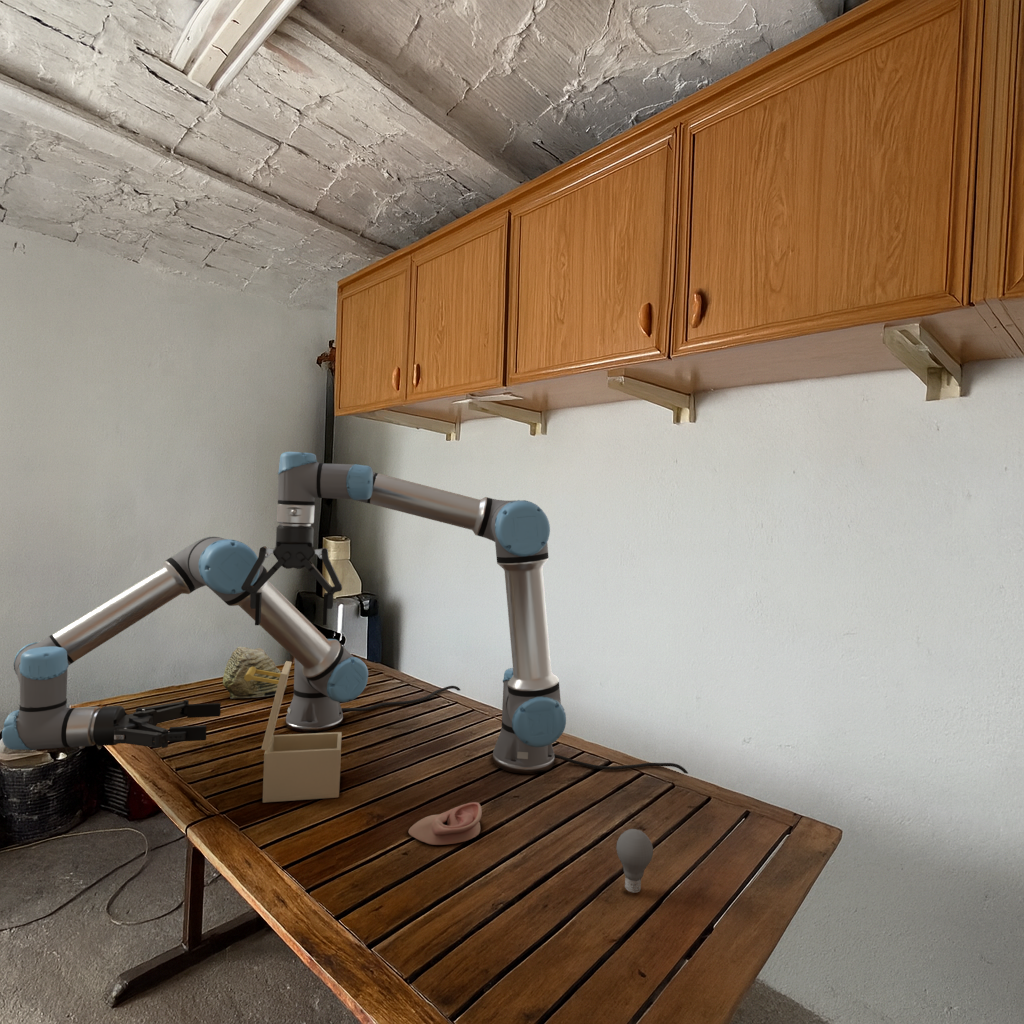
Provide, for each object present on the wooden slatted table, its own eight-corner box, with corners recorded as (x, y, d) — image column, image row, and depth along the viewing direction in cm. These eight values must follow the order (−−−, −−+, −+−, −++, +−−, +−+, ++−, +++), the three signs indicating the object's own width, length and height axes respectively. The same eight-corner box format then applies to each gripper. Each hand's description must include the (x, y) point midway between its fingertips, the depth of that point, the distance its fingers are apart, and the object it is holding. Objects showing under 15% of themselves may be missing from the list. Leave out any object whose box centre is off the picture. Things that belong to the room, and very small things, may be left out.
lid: (292, 661, 140) (253, 654, 138) (287, 674, 131) (245, 667, 129) (273, 732, 140) (234, 726, 138) (267, 750, 130) (225, 744, 128)
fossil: (218, 695, 195) (220, 647, 195) (278, 685, 208) (279, 640, 207) (228, 703, 189) (230, 653, 188) (289, 692, 201) (290, 645, 201)
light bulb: (610, 879, 108) (613, 822, 108) (644, 879, 109) (647, 822, 109) (619, 902, 102) (622, 840, 102) (655, 901, 103) (658, 840, 103)
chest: (339, 776, 144) (341, 731, 143) (338, 797, 134) (340, 749, 134) (269, 781, 140) (270, 735, 140) (262, 802, 130) (264, 753, 130)
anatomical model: (402, 819, 118) (423, 791, 129) (402, 840, 118) (422, 811, 129) (471, 829, 115) (486, 801, 126) (470, 851, 115) (486, 820, 126)
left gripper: (120, 722, 139) (224, 717, 144) (71, 771, 115) (198, 763, 120) (121, 688, 139) (225, 684, 144) (71, 730, 115) (199, 724, 120)
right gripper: (228, 523, 128) (225, 627, 129) (355, 527, 134) (351, 627, 135) (235, 522, 136) (232, 620, 136) (355, 525, 142) (351, 620, 142)
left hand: (213, 720), depth 132 cm, fingers open, 13 cm apart
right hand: (291, 624), depth 135 cm, fingers open, 13 cm apart
